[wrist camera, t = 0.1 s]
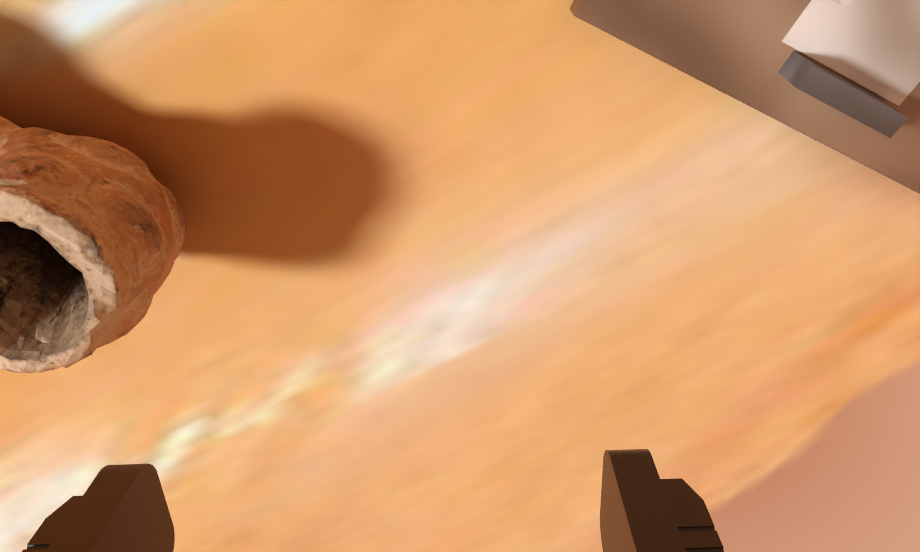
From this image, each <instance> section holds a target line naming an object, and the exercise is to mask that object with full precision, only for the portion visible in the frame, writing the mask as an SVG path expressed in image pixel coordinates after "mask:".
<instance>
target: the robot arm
mask: <svg viewBox="0 0 920 552" xmlns="http://www.w3.org/2000/svg"><path fill="white" fill-rule="evenodd" d="M600 529H601V540H602V547H603V552H724V551H723V545H722V543H721V541H720V538H719V536H718V534H717V531H715V529H714V524H713V522H712V519H711V517H710V515H709V512H708V510H707V508H706V505H705V503H704V500H703V499H702V498H701V497H700V496H699V495H698V494H697V493H696V492H695V491H694V490H693V489H692V488H691V487H690V486H689V485H688V484H687V483H686V482H685V481H684V480H683V479H660V478H659V475H658V472H657V469H656V467H655V464H654V461H653V458H652V456H651V453H650V452H649V450H648V449H636V450H606V451H605V453H604V459H603V474H602V491H601V508H600ZM173 549H174V527H173V523H172V520H171V516H170V513H169V510H168V507H167V503H166V500H165V497H164V493H163V490H162V487H161V484H160V480H159V477H158V474H157V471H156V469H155V467H154V466H153V465H151V464H128V465H107V466H105V467H104V468H102V469H101V470H100V472H99V473H98V475H97V476H96V477H95V479H94V480H93V482H92V483H91V485H90V486H89V488H88V489H87V491H86V492H85V494H84V495H83V496H73V497H71V498H70V499H69V500H68V501H67V502H65V503H64V504H63V505H62V506H61V507H59V508H58V509H57V510H56V511H54V512H53V513H52V514H51V515H50V516H48V517H47V518H46V519H45V520H44V522H43V523H42V524H41V526H40V527H39V529H38V530H37V532H36V533H35V534H34V536H33V537H32V539H31V540H30V541H29V543H28V544H27V549H26V550H23V551H22V552H173Z"/></svg>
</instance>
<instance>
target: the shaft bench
mask: <svg viewBox="0 0 920 552" xmlns="http://www.w3.org/2000/svg"><path fill="white" fill-rule="evenodd" d="M570 10H571V11H572V13H573V15H574V16H575V17H577V18H579V19H581V20H583V21H585V22H587V23H589V24H591V25H593V26H595V27H597V28H599V29H601V30H603V31H605V32H607V33H609V34H610V35H612V36H614V37H616V38H618V39H620V40H622V41H624V42H626V43H628V44H630V45H632V46H634V47H636V48H638V49H640V50H642V51H644V52H645V53H647V54H649V55H651V56H653V57H655V58H657V59H659V60H661V61H663V62H665V63H667V64H669V65H671V66H673V67H675V68H677V69H679V70H680V71H682V72H684V73H686V74H688V75H690V76H692V77H694V78H696V79H698V80H700V81H702V82H704V83H706V84H708V85H710V86H712V87H714V88H715V89H717V90H719V91H721V92H723V93H725V94H727V95H729V96H731V97H733V98H735V99H737V100H739V101H741V102H743V103H745V104H747V105H748V106H750V107H752V108H754V109H756V110H758V111H760V112H762V113H764V114H766V115H768V116H770V117H772V118H774V119H776V120H778V121H780V122H782V123H783V124H785V125H787V126H789V127H791V128H793V129H795V130H797V131H799V132H801V133H803V134H805V135H807V136H809V137H811V138H813V139H815V140H817V141H818V142H820V143H822V144H824V145H826V146H828V147H830V148H832V149H834V150H836V151H838V152H840V153H842V154H844V155H846V156H848V157H850V158H852V159H853V160H855V161H857V162H859V163H861V164H863V165H865V166H867V167H869V168H871V169H873V170H875V171H877V172H879V173H881V174H883V175H885V176H887V177H888V178H890V179H892V180H894V181H896V182H898V183H900V184H902V185H904V186H906V187H908V188H910V189H912V190H914V191H916V192H918V193H920V0H574V1H573V3H572V5H571V7H570Z"/></svg>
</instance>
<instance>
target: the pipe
mask: <svg viewBox="0 0 920 552" xmlns="http://www.w3.org/2000/svg"><path fill="white" fill-rule="evenodd" d="M185 228H186V226H185V221H184V216H183V211H182V208H181V206H180V204H179V203H178V201H177V200H176V198H175V197H174V195H173V194H172V192H171V191H170V190H169V189H167V188H166V187H165V186H164V185H162V184H161V183H160V182H158V181H157V180H156V179H155V177H154V175H153V174H152V173H150V172H149V169H148V167H147V165H146V163H145V162H144V161H143V160H142V159H140V158H139V157H138V156H136V155H135V154H134V153H132V152H131V151H130V150H128V149H126V148H123V147H121V146H119V145H117V144H115V143H113V142H111V141H107V140H103V139H98V138H94V137H89V136H76V135H65V134H62V133H58V132H55V131H51V130H47V129H43V128H39V127H28V128H21V127H19V126H17V125H16V124H14V123H12V122H11V121H9V120H7V119H6V118H4V117H2V116H0V369H3V370H7V371H11V372H20V373H35V372H44V371H48V370H53V369H57V368H59V367H65V368H67V367H69V366H71V365H73V364H74V363H76V362H78V361H80V360H82V359H84V358H86V357H88V356H90V355H92V353H93V352H94V351H95V350H96V349H97V348H99V347H101V346H104V345H106V344H109V343H111V342H113V341H115V340H117V339H118V338H120V337H122V336H124V335H126V334H127V333H128V332H130V331H131V330H132V329H133V328H134V327H135V326H136V325H137V324H138V323H139V322H140V321H141V320H142V319H143V318H144V316H145V315H146V313H147V311H148V309H149V307H150V305H151V301H152V298H153V295H154V294H155V293H156V292H157V291H158V289H159V288H160V287H161V285H162V284H163V282H164V281H165V279H166V278H167V276H168V275H169V273H170V271H171V269H172V267H173V264H174V260H175V259H176V258H177V257H178V255H179V252H180V250H181V247H182V245H183V243H184V238H185Z"/></svg>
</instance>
